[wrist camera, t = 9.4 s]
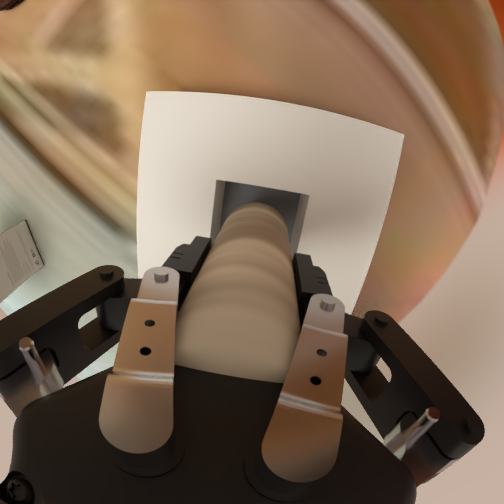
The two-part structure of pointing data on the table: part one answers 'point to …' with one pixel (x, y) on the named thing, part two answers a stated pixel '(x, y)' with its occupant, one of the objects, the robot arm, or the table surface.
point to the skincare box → (17, 258)
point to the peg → (243, 301)
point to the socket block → (264, 178)
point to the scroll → (6, 4)
